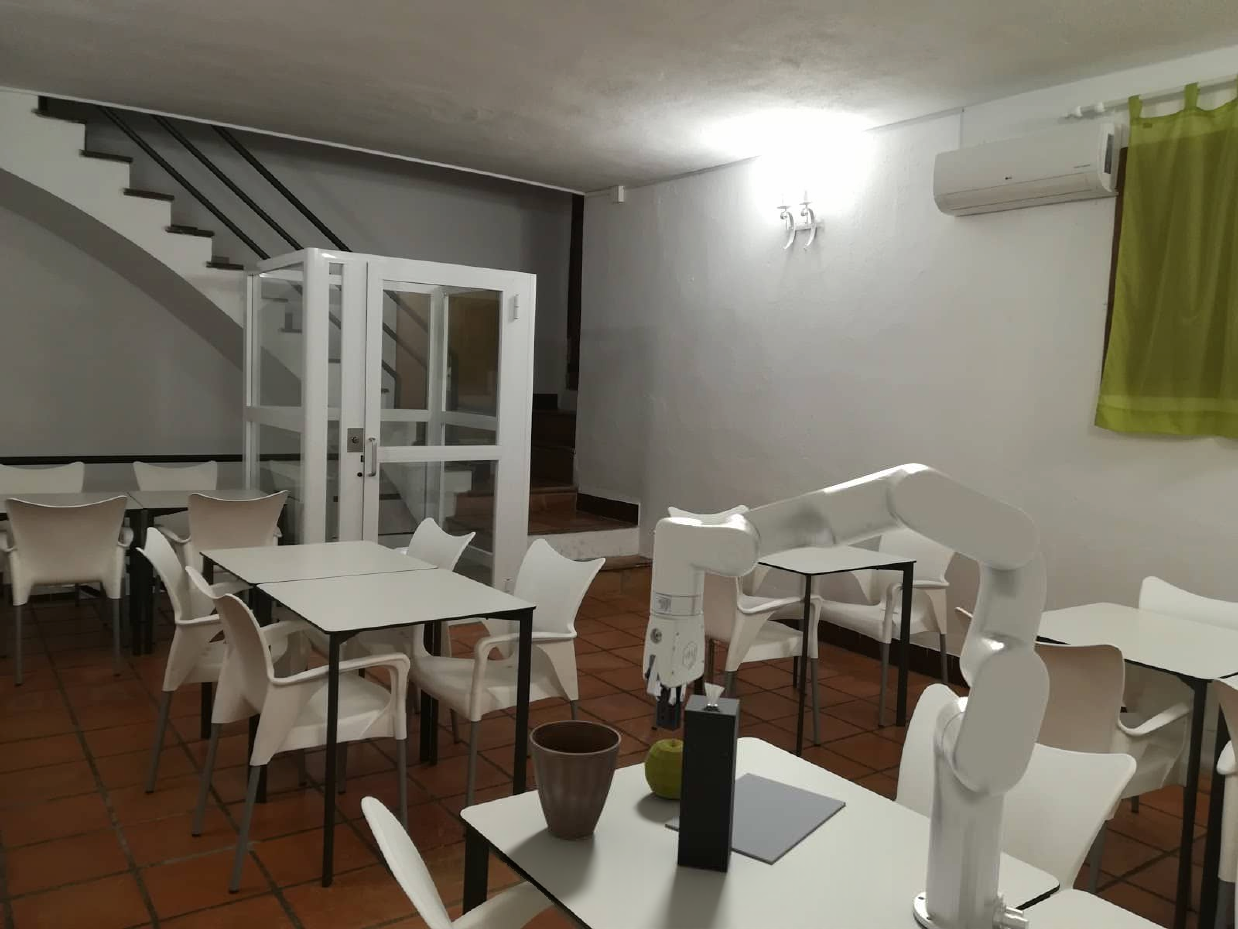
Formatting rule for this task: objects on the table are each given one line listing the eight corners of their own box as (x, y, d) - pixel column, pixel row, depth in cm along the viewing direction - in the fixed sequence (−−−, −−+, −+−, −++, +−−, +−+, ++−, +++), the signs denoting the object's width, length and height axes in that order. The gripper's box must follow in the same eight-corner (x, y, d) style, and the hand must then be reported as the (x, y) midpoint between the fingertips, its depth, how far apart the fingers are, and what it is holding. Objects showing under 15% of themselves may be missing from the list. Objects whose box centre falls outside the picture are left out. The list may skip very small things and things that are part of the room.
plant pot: (635, 836, 158) (639, 741, 157) (560, 861, 149) (564, 760, 147) (581, 803, 170) (585, 715, 168) (509, 824, 160) (512, 730, 159)
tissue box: (727, 873, 147) (736, 694, 145) (676, 866, 148) (685, 688, 146) (731, 850, 155) (741, 679, 152) (683, 843, 156) (691, 674, 154)
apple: (636, 801, 171) (639, 741, 171) (651, 781, 181) (653, 724, 180) (691, 811, 169) (694, 749, 168) (703, 789, 178) (706, 731, 177)
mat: (845, 804, 174) (845, 802, 174) (771, 864, 151) (771, 861, 150) (747, 774, 186) (747, 772, 186) (664, 825, 162) (665, 823, 162)
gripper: (669, 616, 131) (661, 748, 132) (724, 601, 143) (716, 721, 144) (625, 606, 135) (617, 734, 136) (682, 592, 147) (674, 709, 149)
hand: (668, 727), depth 140 cm, fingers closed
